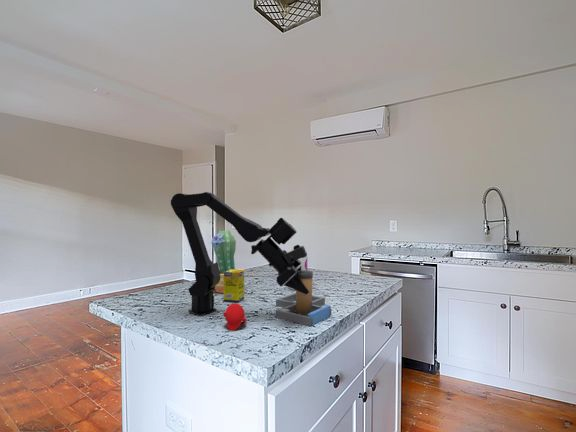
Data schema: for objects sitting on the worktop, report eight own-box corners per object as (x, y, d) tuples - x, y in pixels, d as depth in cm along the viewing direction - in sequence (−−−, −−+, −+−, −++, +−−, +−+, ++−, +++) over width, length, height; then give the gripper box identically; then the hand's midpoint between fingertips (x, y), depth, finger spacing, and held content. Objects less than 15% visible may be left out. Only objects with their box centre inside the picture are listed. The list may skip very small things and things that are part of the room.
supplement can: (307, 286, 139) (307, 252, 139) (306, 291, 131) (307, 255, 131) (289, 286, 140) (289, 252, 140) (287, 290, 132) (287, 254, 132)
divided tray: (310, 326, 89) (310, 315, 89) (256, 312, 101) (256, 302, 101) (345, 307, 107) (345, 298, 107) (296, 298, 119) (296, 289, 119)
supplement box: (238, 302, 113) (239, 272, 113) (223, 301, 114) (223, 271, 114) (244, 298, 119) (244, 269, 118) (229, 297, 120) (229, 269, 120)
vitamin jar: (301, 315, 94) (302, 273, 94) (292, 311, 99) (292, 271, 99) (315, 313, 97) (316, 272, 97) (306, 308, 101) (306, 269, 101)
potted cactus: (204, 287, 135) (204, 230, 135) (238, 284, 142) (239, 229, 142) (211, 296, 121) (211, 231, 121) (249, 292, 128) (249, 231, 128)
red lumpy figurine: (224, 310, 93) (218, 304, 88) (243, 303, 94) (238, 297, 89) (230, 336, 89) (224, 332, 84) (250, 329, 90) (245, 324, 85)
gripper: (288, 239, 89) (327, 279, 88) (295, 235, 108) (327, 268, 106) (260, 266, 90) (298, 306, 89) (272, 257, 109) (303, 290, 107)
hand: (308, 291), depth 98 cm, fingers closed on vitamin jar, 5 cm apart
